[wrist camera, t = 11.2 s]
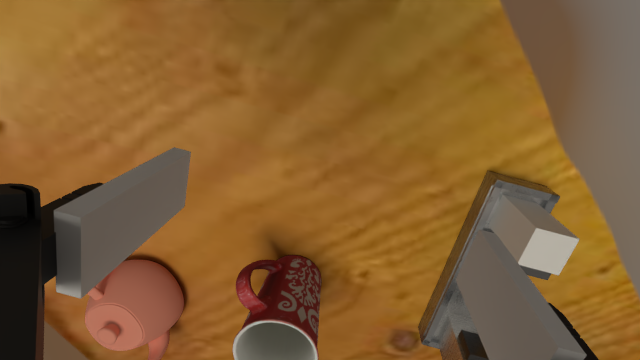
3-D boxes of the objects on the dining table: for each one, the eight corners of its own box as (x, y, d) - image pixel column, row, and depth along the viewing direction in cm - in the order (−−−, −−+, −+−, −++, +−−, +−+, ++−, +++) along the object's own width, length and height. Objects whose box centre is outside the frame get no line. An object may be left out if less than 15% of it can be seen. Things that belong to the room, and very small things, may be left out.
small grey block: (502, 194, 39) (536, 227, 32) (537, 203, 39) (579, 239, 32) (484, 232, 41) (512, 272, 34) (518, 241, 41) (553, 283, 34)
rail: (487, 170, 41) (527, 207, 31) (546, 186, 41) (604, 228, 31) (418, 327, 50) (432, 394, 40) (466, 340, 50) (493, 411, 40)
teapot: (149, 230, 49) (103, 269, 40) (216, 327, 54) (188, 382, 45) (84, 258, 52) (28, 301, 43) (153, 349, 57) (115, 404, 48)
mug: (340, 291, 49) (333, 375, 37) (283, 312, 51) (259, 397, 39) (296, 216, 46) (273, 279, 33) (238, 241, 48) (196, 309, 36)
